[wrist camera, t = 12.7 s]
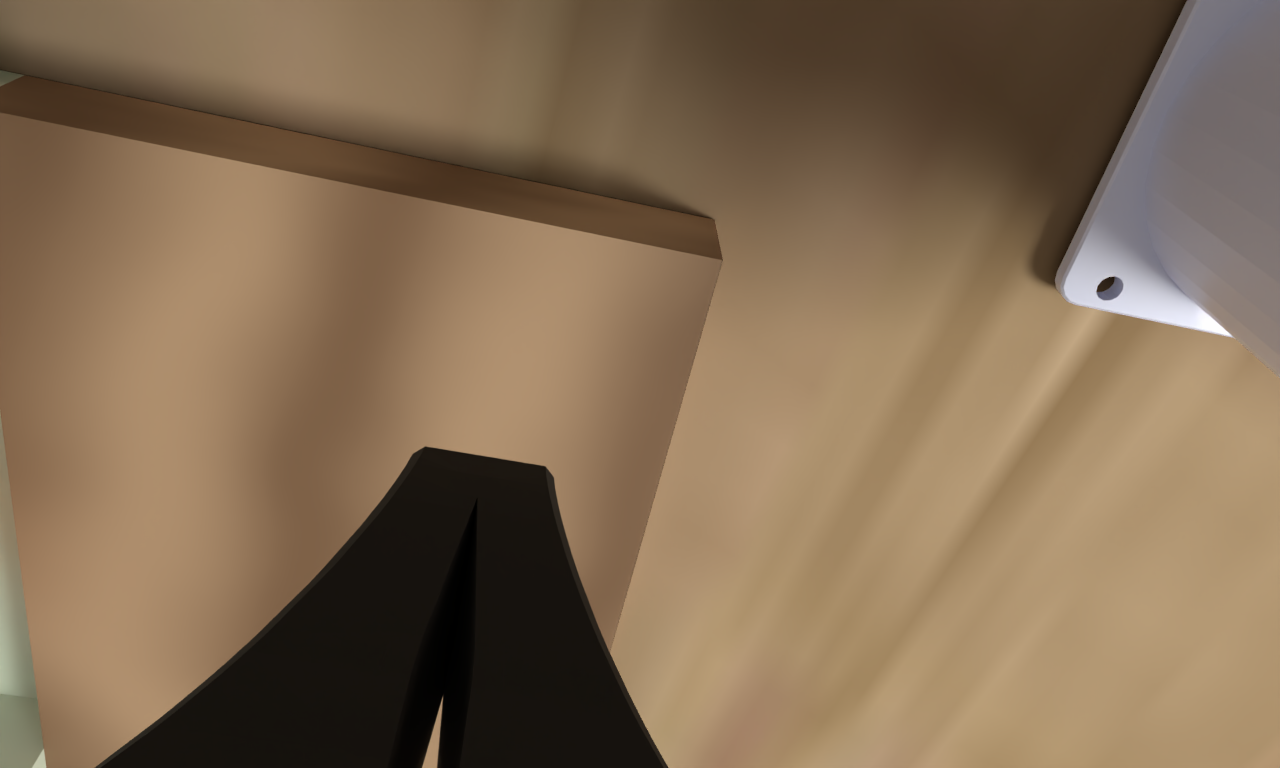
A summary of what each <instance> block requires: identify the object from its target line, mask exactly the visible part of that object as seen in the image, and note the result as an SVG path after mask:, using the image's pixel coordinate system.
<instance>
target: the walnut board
mask: <svg viewBox="0 0 1280 768" xmlns="http://www.w3.org/2000/svg"><path fill="white" fill-rule="evenodd" d="M722 261H723V259H722V254H721V249H720V244H719V239H718V235H717V230H716V225H715V220H714V219H709V218H704V217H699V216H695V215H690V214H685V213H680V212H675V211H671V210H666V209H661V208H656V207H652V206H647V205H642V204H637V203H633V202H628V201H623V200H618V199H613V198H609V197H604V196H599V195H594V194H590V193H585V192H580V191H575V190H570V189H566V188H561V187H556V186H551V185H547V184H542V183H537V182H532V181H527V180H523V179H518V178H513V177H508V176H504V175H499V174H494V173H489V172H485V171H480V170H475V169H470V168H465V167H461V166H456V165H451V164H446V163H442V162H437V161H432V160H427V159H422V158H418V157H413V156H408V155H403V154H399V153H394V152H389V151H384V150H379V149H375V148H370V147H365V146H360V145H356V144H351V143H346V142H341V141H337V140H332V139H327V138H322V137H317V136H313V135H308V134H303V133H298V132H294V131H289V130H284V129H279V128H274V127H270V126H265V125H260V124H255V123H251V122H246V121H241V120H236V119H232V118H227V117H222V116H217V115H212V114H208V113H203V112H198V111H193V110H189V109H184V108H179V107H174V106H169V105H165V104H160V103H155V102H150V101H146V100H141V99H136V98H131V97H126V96H122V95H117V94H112V93H107V92H103V91H98V90H93V89H88V88H84V87H79V86H74V85H69V84H64V83H60V82H55V81H50V80H45V79H41V78H36V77H31V76H26V75H24V76H22V77H20V78H17V79H15V80H13V81H11V82H9V83H6V84H4V85H2V86H0V414H1V422H2V430H3V437H4V445H5V453H6V461H7V468H8V476H9V484H10V491H11V499H12V507H13V515H14V522H15V530H16V538H17V545H18V553H19V561H20V569H21V576H22V584H23V592H24V599H25V607H26V615H27V623H28V630H29V638H30V646H31V654H32V661H33V669H34V677H35V684H36V692H37V700H38V708H39V715H40V723H41V731H42V738H43V746H44V754H45V762H46V768H95V767H96V766H97V765H99V764H100V763H101V762H103V761H104V760H105V759H106V758H108V757H109V756H110V755H112V754H113V753H114V752H116V751H117V750H118V749H120V748H121V747H122V746H124V745H125V744H126V743H128V742H129V741H130V740H132V739H133V738H134V737H135V736H137V735H138V734H139V733H141V732H142V731H143V730H145V729H146V728H147V727H149V726H150V725H151V724H153V723H154V722H155V721H157V720H158V719H159V718H160V717H162V716H163V715H164V714H165V713H167V712H168V711H169V710H170V709H172V708H173V707H174V706H175V705H176V704H178V703H179V702H180V701H181V700H182V699H184V698H185V697H186V696H187V695H188V694H190V693H191V692H192V691H193V690H195V689H196V688H197V687H198V686H199V685H201V684H202V683H203V682H204V681H205V680H207V679H208V678H209V677H210V676H211V675H212V674H213V673H215V672H216V671H217V670H218V669H219V668H220V667H222V666H223V665H224V664H225V663H226V662H227V661H228V660H229V659H231V658H232V657H233V656H234V655H235V654H236V653H237V652H238V651H239V650H241V649H242V648H243V647H244V646H245V645H246V644H247V643H248V642H249V641H250V640H252V639H253V638H254V637H255V636H256V635H257V634H258V633H259V632H260V631H261V630H262V629H263V628H264V627H265V626H266V625H267V624H268V623H269V622H270V621H271V620H272V619H273V618H274V617H275V616H276V615H277V614H278V613H279V612H280V611H281V610H282V609H283V608H284V607H285V606H286V605H287V604H288V603H289V602H290V601H291V600H292V599H293V598H295V597H296V596H297V595H298V594H299V593H300V592H301V591H302V590H303V589H304V588H305V587H306V586H307V585H308V584H309V583H310V582H311V581H312V580H313V578H314V577H315V576H316V575H317V574H318V573H319V572H320V571H321V570H322V569H323V568H324V567H325V566H326V564H327V563H328V562H329V561H330V560H331V559H332V558H333V556H334V555H335V554H336V553H337V552H338V551H339V550H340V549H341V547H342V546H343V545H344V544H345V543H346V542H347V541H348V540H349V538H350V537H351V536H352V535H353V534H354V533H355V532H356V531H357V529H358V528H359V527H360V526H361V525H362V524H363V522H364V521H365V520H366V519H367V517H368V516H369V515H370V514H371V512H372V511H373V510H374V509H375V507H376V506H377V505H378V504H379V502H380V501H381V500H382V499H383V497H384V496H385V495H386V493H387V492H388V491H389V489H390V488H391V487H392V485H393V484H394V482H395V481H396V479H397V478H398V477H399V475H400V474H401V472H402V471H403V469H404V468H405V466H406V464H407V463H408V461H409V459H410V457H411V456H412V454H413V453H415V452H416V451H418V450H420V449H422V448H423V447H425V446H427V447H433V448H439V449H445V450H451V451H457V452H463V453H469V454H475V455H481V456H487V457H493V458H499V459H505V460H511V461H517V462H523V463H529V464H535V465H541V466H546V467H547V469H548V470H549V471H550V473H551V474H552V475H553V477H554V482H555V490H556V495H557V501H558V505H559V510H560V514H561V518H562V522H563V526H564V529H565V533H566V536H567V539H568V543H569V546H570V549H571V553H572V556H573V559H574V562H575V565H576V568H577V571H578V574H579V577H580V580H581V582H582V585H583V587H584V590H585V593H586V595H587V598H588V600H589V603H590V606H591V608H592V611H593V614H594V616H595V619H596V621H597V624H598V627H599V629H600V631H601V634H602V636H603V638H604V641H605V643H606V645H607V648H608V650H609V652H610V650H611V647H612V643H613V640H614V637H615V633H616V630H617V626H618V623H619V619H620V616H621V612H622V609H623V605H624V602H625V598H626V595H627V591H628V588H629V584H630V581H631V577H632V574H633V570H634V567H635V564H636V560H637V557H638V553H639V550H640V546H641V543H642V539H643V536H644V532H645V529H646V525H647V522H648V518H649V515H650V511H651V508H652V504H653V501H654V498H655V494H656V491H657V487H658V484H659V480H660V477H661V473H662V470H663V466H664V463H665V459H666V456H667V452H668V449H669V445H670V442H671V438H672V435H673V431H674V428H675V425H676V421H677V418H678V414H679V411H680V407H681V404H682V400H683V397H684V393H685V390H686V386H687V383H688V379H689V376H690V372H691V369H692V365H693V362H694V358H695V355H696V352H697V348H698V345H699V341H700V338H701V334H702V331H703V327H704V324H705V320H706V317H707V313H708V310H709V306H710V303H711V299H712V296H713V292H714V289H715V285H716V282H717V279H718V275H719V272H720V268H721V265H722ZM442 702H443V697H442V701H441V704H440V708H439V711H438V715H437V718H436V722H435V725H434V729H433V732H432V736H431V739H430V743H429V746H428V749H427V753H426V756H425V760H424V763H423V767H422V768H437V761H438V749H439V737H440V726H441V714H442Z"/></svg>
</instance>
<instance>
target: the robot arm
mask: <svg viewBox="0 0 1280 768" xmlns="http://www.w3.org/2000/svg"><path fill="white" fill-rule="evenodd" d="M1108 277H1115V280H1114V283H1113V284H1112V286H1111V287H1110V288H1109V289H1107V290H1105V291H1103V292H1096V291H1097V286H1098V285H1099V284H1100V282H1101V281H1102V280H1104V279H1106V278H1108ZM1055 284H1056V289H1057V290H1058V291H1059V292H1060V294H1061V295H1062V296H1063V297H1064V298H1065V300H1066V301H1068V302H1070V303H1072V304H1074V305H1079V306H1083V307H1088V308H1093V309H1098V310H1103V311H1107V312H1112V313H1117V314H1122V315H1127V316H1132V317H1136V318H1141V319H1146V320H1151V321H1156V322H1160V323H1165V324H1170V325H1175V326H1180V327H1184V328H1189V329H1194V330H1199V331H1204V332H1208V333H1213V334H1218V335H1223V336H1228V337H1232V338H1235V339H1236V340H1237V341H1239V342H1240V343H1241V344H1242V345H1243V346H1244V347H1245V348H1246V349H1248V350H1249V351H1250V352H1251V353H1252V354H1253V355H1254V356H1255V357H1257V358H1258V359H1259V360H1260V361H1261V362H1262V363H1263V364H1264V365H1266V366H1267V367H1268V368H1269V369H1270V370H1271V371H1272V372H1274V373H1275V374H1276V375H1277V376H1278V377H1279V378H1280V0H1187V1H1186V3H1185V5H1184V8H1183V10H1182V12H1181V14H1180V16H1179V18H1178V20H1177V22H1176V24H1175V26H1174V28H1173V31H1172V33H1171V35H1170V37H1169V39H1168V41H1167V43H1166V45H1165V47H1164V49H1163V51H1162V54H1161V56H1160V58H1159V60H1158V62H1157V64H1156V66H1155V68H1154V70H1153V72H1152V74H1151V77H1150V79H1149V81H1148V83H1147V85H1146V87H1145V89H1144V91H1143V93H1142V95H1141V97H1140V99H1139V102H1138V104H1137V106H1136V108H1135V110H1134V112H1133V114H1132V116H1131V118H1130V120H1129V122H1128V125H1127V127H1126V129H1125V131H1124V133H1123V135H1122V137H1121V139H1120V141H1119V143H1118V145H1117V148H1116V150H1115V152H1114V154H1113V156H1112V158H1111V160H1110V162H1109V164H1108V166H1107V168H1106V171H1105V173H1104V175H1103V177H1102V179H1101V181H1100V183H1099V185H1098V187H1097V189H1096V191H1095V193H1094V196H1093V198H1092V200H1091V202H1090V204H1089V206H1088V208H1087V210H1086V212H1085V214H1084V216H1083V219H1082V221H1081V223H1080V225H1079V227H1078V229H1077V231H1076V233H1075V235H1074V237H1073V239H1072V242H1071V244H1070V246H1069V248H1068V250H1067V252H1066V254H1065V256H1064V258H1063V260H1062V262H1061V265H1060V267H1059V269H1058V271H1057V274H1056V278H1055ZM442 697H443V702H442V714H441V726H440V737H439V749H438V761H437V768H668V766H667V765H666V763H665V761H664V759H663V758H662V756H661V754H660V752H659V751H658V749H657V747H656V745H655V744H654V742H653V740H652V738H651V736H650V734H649V732H648V730H647V729H646V727H645V725H644V723H643V721H642V719H641V717H640V715H639V713H638V711H637V709H636V707H635V705H634V703H633V701H632V699H631V697H630V695H629V693H628V691H627V689H626V687H625V685H624V682H623V680H622V678H621V676H620V674H619V672H618V670H617V667H616V665H615V663H614V661H613V659H612V657H611V655H610V652H609V650H608V648H607V645H606V643H605V641H604V638H603V636H602V634H601V631H600V629H599V627H598V624H597V621H596V619H595V616H594V614H593V611H592V608H591V606H590V603H589V600H588V598H587V595H586V593H585V590H584V587H583V585H582V582H581V580H580V577H579V574H578V571H577V568H576V565H575V562H574V559H573V556H572V553H571V549H570V546H569V543H568V539H567V536H566V533H565V529H564V526H563V522H562V518H561V514H560V510H559V505H558V501H557V495H556V490H555V482H554V477H553V475H552V474H551V473H550V471H549V470H548V469H547V467H546V466H541V465H535V464H529V463H523V462H517V461H511V460H505V459H499V458H493V457H487V456H481V455H475V454H469V453H463V452H457V451H451V450H445V449H439V448H433V447H427V446H425V447H423V448H422V449H420V450H418V451H416V452H415V453H413V454H412V456H411V457H410V459H409V461H408V463H407V464H406V466H405V468H404V469H403V471H402V472H401V474H400V475H399V477H398V478H397V479H396V481H395V482H394V484H393V485H392V487H391V488H390V489H389V491H388V492H387V493H386V495H385V496H384V497H383V499H382V500H381V501H380V502H379V504H378V505H377V506H376V507H375V509H374V510H373V511H372V512H371V514H370V515H369V516H368V517H367V519H366V520H365V521H364V522H363V524H362V525H361V526H360V527H359V528H358V529H357V531H356V532H355V533H354V534H353V535H352V536H351V537H350V538H349V540H348V541H347V542H346V543H345V544H344V545H343V546H342V547H341V549H340V550H339V551H338V552H337V553H336V554H335V555H334V556H333V558H332V559H331V560H330V561H329V562H328V563H327V564H326V566H325V567H324V568H323V569H322V570H321V571H320V572H319V573H318V574H317V575H316V576H315V577H314V578H313V580H312V581H311V582H310V583H309V584H308V585H307V586H306V587H305V588H304V589H303V590H302V591H301V592H300V593H299V594H298V595H297V596H296V597H295V598H293V599H292V600H291V601H290V602H289V603H288V604H287V605H286V606H285V607H284V608H283V609H282V610H281V611H280V612H279V613H278V614H277V615H276V616H275V617H274V618H273V619H272V620H271V621H270V622H269V623H268V624H267V625H266V626H265V627H264V628H263V629H262V630H261V631H260V632H259V633H258V634H257V635H256V636H255V637H254V638H253V639H252V640H250V641H249V642H248V643H247V644H246V645H245V646H244V647H243V648H242V649H241V650H239V651H238V652H237V653H236V654H235V655H234V656H233V657H232V658H231V659H229V660H228V661H227V662H226V663H225V664H224V665H223V666H222V667H220V668H219V669H218V670H217V671H216V672H215V673H213V674H212V675H211V676H210V677H209V678H208V679H207V680H205V681H204V682H203V683H202V684H201V685H199V686H198V687H197V688H196V689H195V690H193V691H192V692H191V693H190V694H188V695H187V696H186V697H185V698H184V699H182V700H181V701H180V702H179V703H178V704H176V705H175V706H174V707H173V708H172V709H170V710H169V711H168V712H167V713H165V714H164V715H163V716H162V717H160V718H159V719H158V720H157V721H155V722H154V723H153V724H151V725H150V726H149V727H147V728H146V729H145V730H143V731H142V732H141V733H139V734H138V735H137V736H135V737H134V738H133V739H132V740H130V741H129V742H128V743H126V744H125V745H124V746H122V747H121V748H120V749H118V750H117V751H116V752H114V753H113V754H112V755H110V756H109V757H108V758H106V759H105V760H104V761H103V762H101V763H100V764H99V765H97V766H96V767H95V768H422V767H423V763H424V760H425V756H426V753H427V749H428V746H429V743H430V739H431V736H432V732H433V729H434V725H435V722H436V718H437V715H438V711H439V708H440V704H441V701H442Z"/></svg>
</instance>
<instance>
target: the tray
mask: <svg viewBox="0 0 1280 768" xmlns="http://www.w3.org/2000/svg"><path fill="white" fill-rule="evenodd" d="M22 76H24V75H21V74H17V73H12V72H7V71H2V70H0V86H2V85H4V84H6V83H9V82H11V81H13V80H15V79H17V78H20V77H22ZM0 768H46V762H45V754H44V746H43V738H42V731H41V723H40V715H39V708H38V700H37V692H36V684H35V677H34V669H33V661H32V654H31V646H30V638H29V630H28V623H27V615H26V607H25V599H24V592H23V584H22V576H21V569H20V561H19V553H18V545H17V538H16V530H15V522H14V515H13V507H12V499H11V491H10V484H9V476H8V468H7V461H6V453H5V445H4V437H3V430H2V422H1V414H0Z"/></svg>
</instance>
